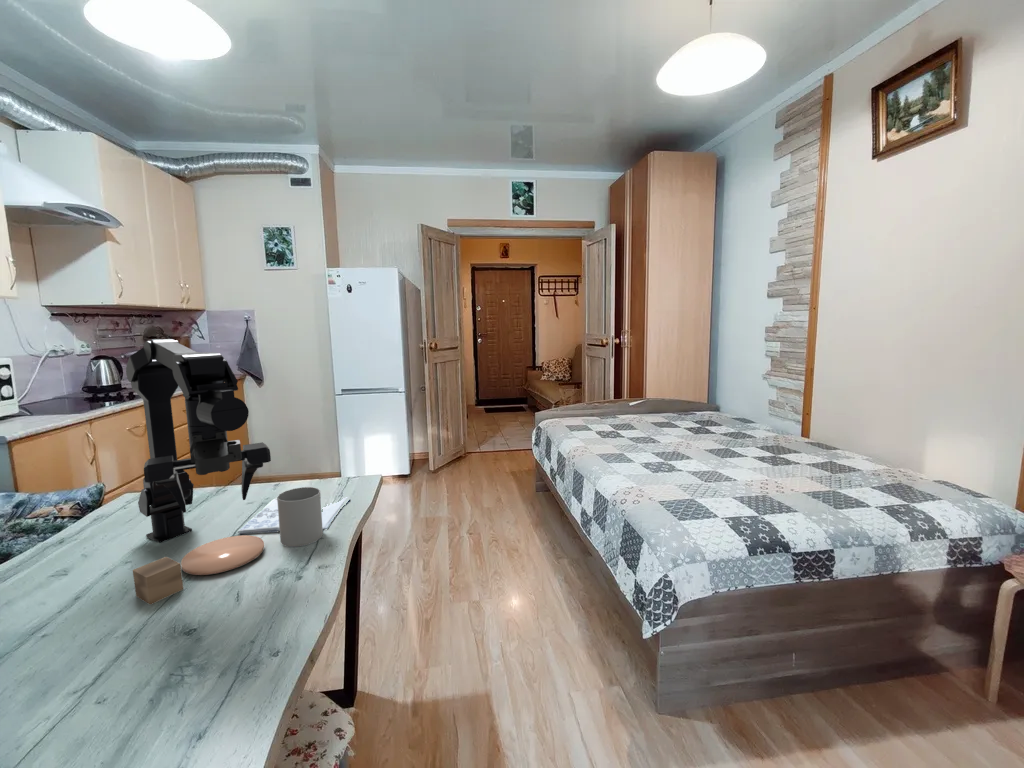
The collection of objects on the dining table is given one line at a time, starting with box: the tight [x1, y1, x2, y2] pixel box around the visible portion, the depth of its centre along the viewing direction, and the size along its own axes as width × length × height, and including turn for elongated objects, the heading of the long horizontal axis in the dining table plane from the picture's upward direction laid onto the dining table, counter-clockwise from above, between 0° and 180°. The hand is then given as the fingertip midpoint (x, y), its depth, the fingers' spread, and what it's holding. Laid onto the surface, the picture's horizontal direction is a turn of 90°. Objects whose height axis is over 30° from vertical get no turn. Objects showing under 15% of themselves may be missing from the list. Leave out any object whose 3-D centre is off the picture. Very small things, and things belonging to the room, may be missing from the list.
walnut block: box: [132, 556, 184, 606], centre depth 78 cm, size 5×5×5 cm
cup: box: [276, 486, 324, 548], centre depth 98 cm, size 8×8×10 cm
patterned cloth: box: [237, 496, 349, 535], centre depth 110 cm, size 19×20×2 cm
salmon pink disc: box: [180, 534, 265, 576], centre depth 90 cm, size 14×14×1 cm
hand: (215, 505), depth 83 cm, fingers open, 9 cm apart
